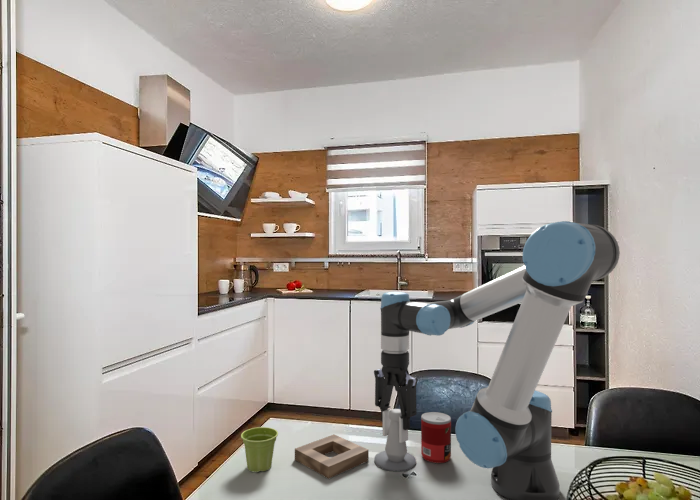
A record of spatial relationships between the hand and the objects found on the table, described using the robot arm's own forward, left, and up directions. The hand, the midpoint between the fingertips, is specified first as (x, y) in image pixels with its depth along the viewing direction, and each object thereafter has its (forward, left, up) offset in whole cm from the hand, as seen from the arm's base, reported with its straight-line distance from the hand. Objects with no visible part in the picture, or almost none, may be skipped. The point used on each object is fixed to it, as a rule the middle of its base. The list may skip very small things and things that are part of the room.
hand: (395, 437), depth 122 cm
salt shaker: (0, 0, -6) cm, 6 cm away
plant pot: (+22, +28, -7) cm, 36 cm away
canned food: (-6, -10, -7) cm, 13 cm away
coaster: (0, 0, -6) cm, 6 cm away
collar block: (+12, +12, -6) cm, 18 cm away
